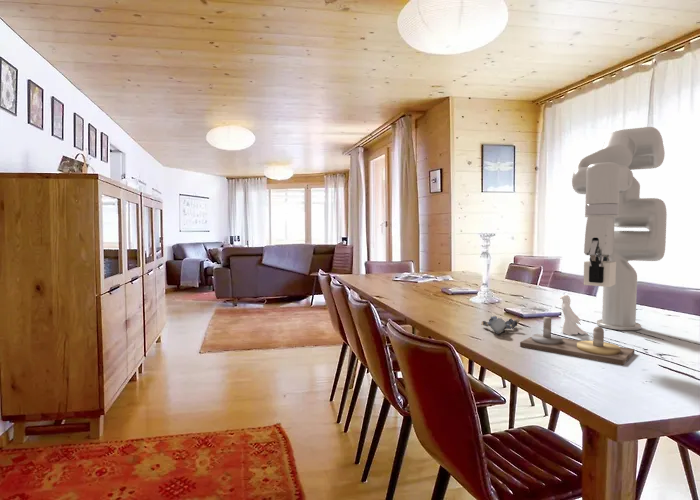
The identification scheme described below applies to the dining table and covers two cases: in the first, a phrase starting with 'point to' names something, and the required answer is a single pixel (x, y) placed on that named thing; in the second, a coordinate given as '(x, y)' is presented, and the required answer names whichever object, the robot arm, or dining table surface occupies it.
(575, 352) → the workboard
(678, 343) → the dining table surface
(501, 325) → the toy
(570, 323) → the figurine
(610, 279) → the collar
